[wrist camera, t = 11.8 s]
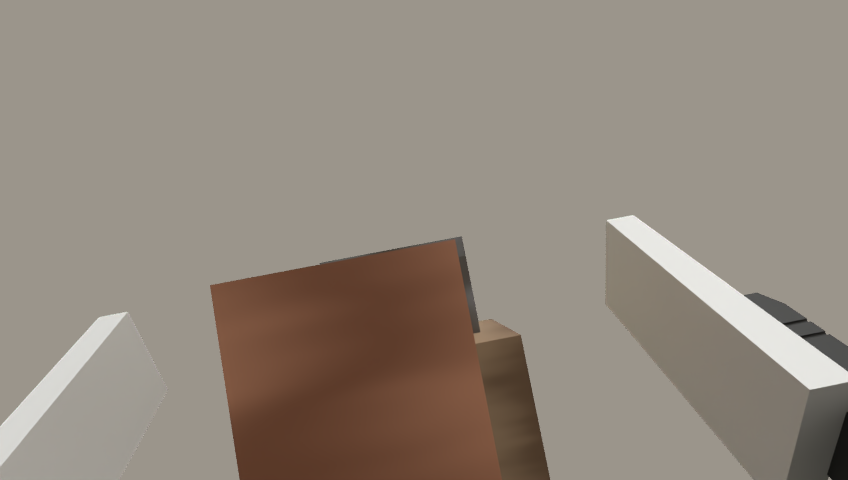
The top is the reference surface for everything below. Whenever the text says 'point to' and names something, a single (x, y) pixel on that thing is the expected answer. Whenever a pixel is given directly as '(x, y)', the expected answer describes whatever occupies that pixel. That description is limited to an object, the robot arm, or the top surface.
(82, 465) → the robot arm
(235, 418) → the wooden bar
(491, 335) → the plinth
